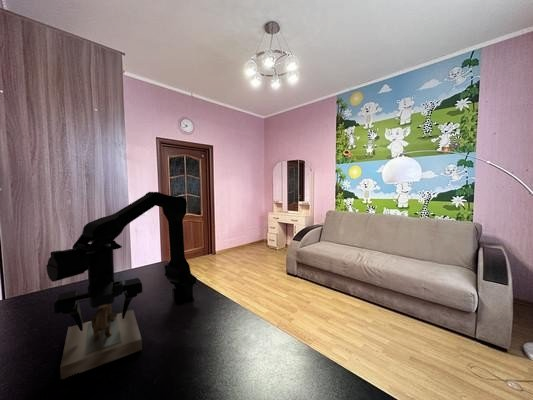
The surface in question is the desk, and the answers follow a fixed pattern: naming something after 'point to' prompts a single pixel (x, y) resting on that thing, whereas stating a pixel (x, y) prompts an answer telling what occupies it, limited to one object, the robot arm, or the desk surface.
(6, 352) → the desk surface
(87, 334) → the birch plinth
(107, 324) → the lion figurine
